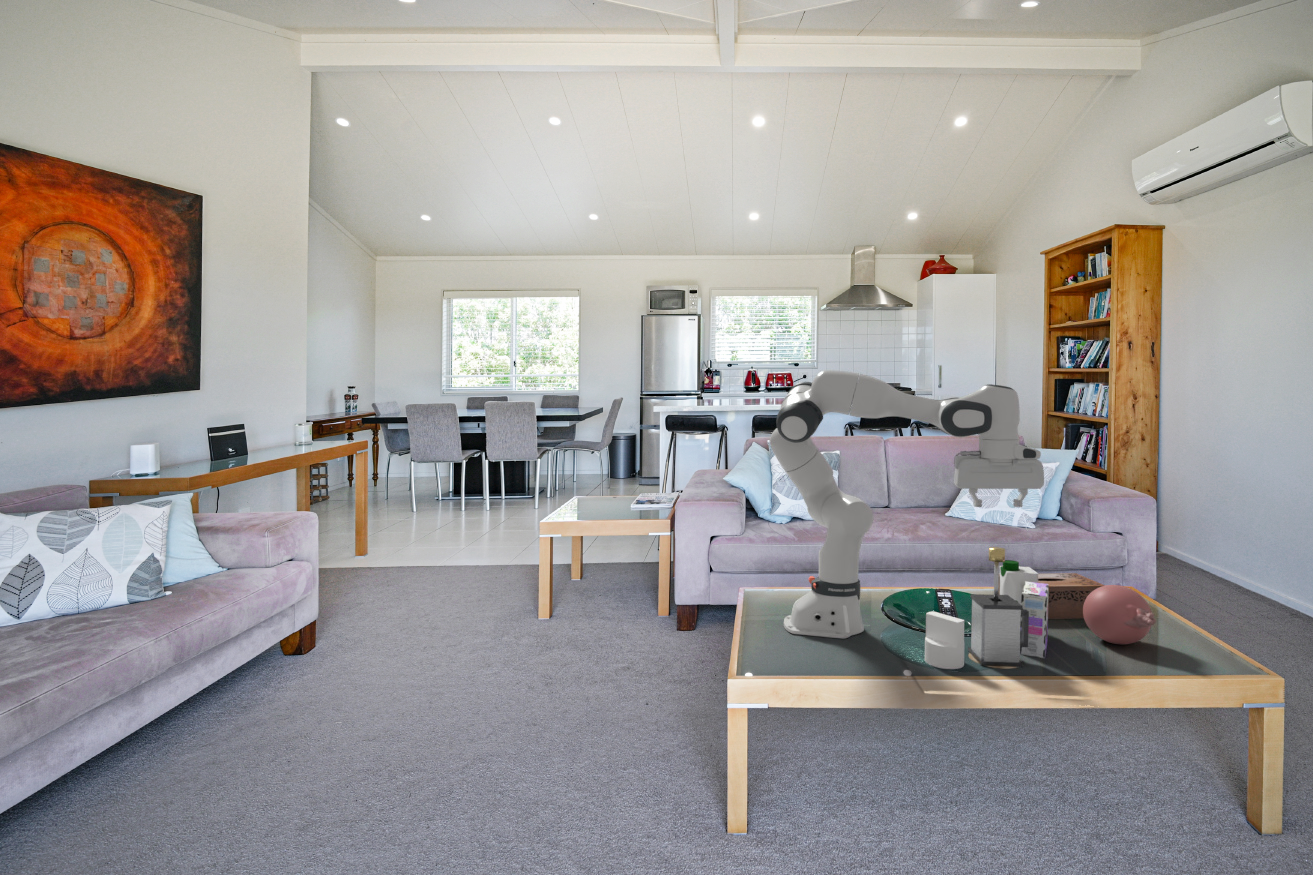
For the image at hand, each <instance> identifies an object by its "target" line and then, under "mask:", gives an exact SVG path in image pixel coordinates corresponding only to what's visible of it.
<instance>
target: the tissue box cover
mask: <svg viewBox="0 0 1313 875" xmlns="http://www.w3.org/2000/svg"><path fill="white" fill-rule="evenodd" d="M1038 583H1044V584H1049V588H1048V594H1049V596H1048V620H1049V619H1052V620H1053V619H1056V620H1057V619H1059V620H1063V619H1064V620H1065V619H1084V616H1083V605H1084V602H1085V600H1086V598H1087V596H1088V595H1089V594H1090V593H1091V592H1092V591H1094V590H1095V589H1097V588H1099V587H1102V586H1106V585H1105V584H1104V583H1101V582H1099V581H1095V580H1093V579H1091V578H1088V577H1086V576H1085V575H1081V574H1079V573H1077V572H1074V573H1073V572H1071V573H1070V572H1068V573H1064V572H1063V573H1062V572H1061V573H1060V572H1059V573H1058V572H1057V573H1054V572H1053V573H1052V572H1051V573H1038ZM998 595H1000V573H999V585H998Z"/></svg>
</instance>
